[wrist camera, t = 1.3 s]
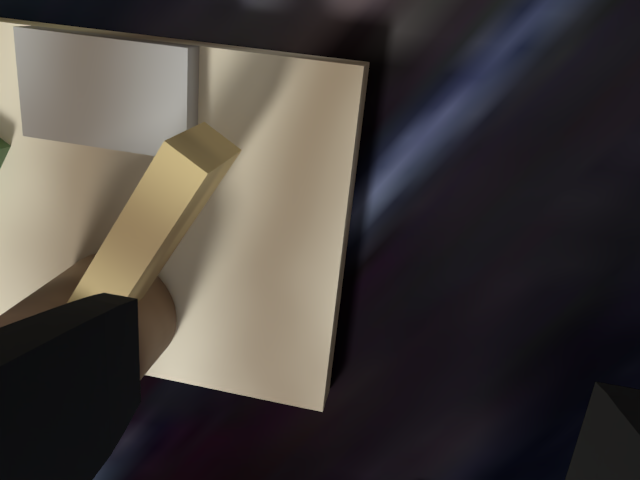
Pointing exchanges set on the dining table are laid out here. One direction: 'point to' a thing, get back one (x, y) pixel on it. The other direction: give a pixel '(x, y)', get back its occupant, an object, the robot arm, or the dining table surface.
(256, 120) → the tuner board
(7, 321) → the knob
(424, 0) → the dining table surface
